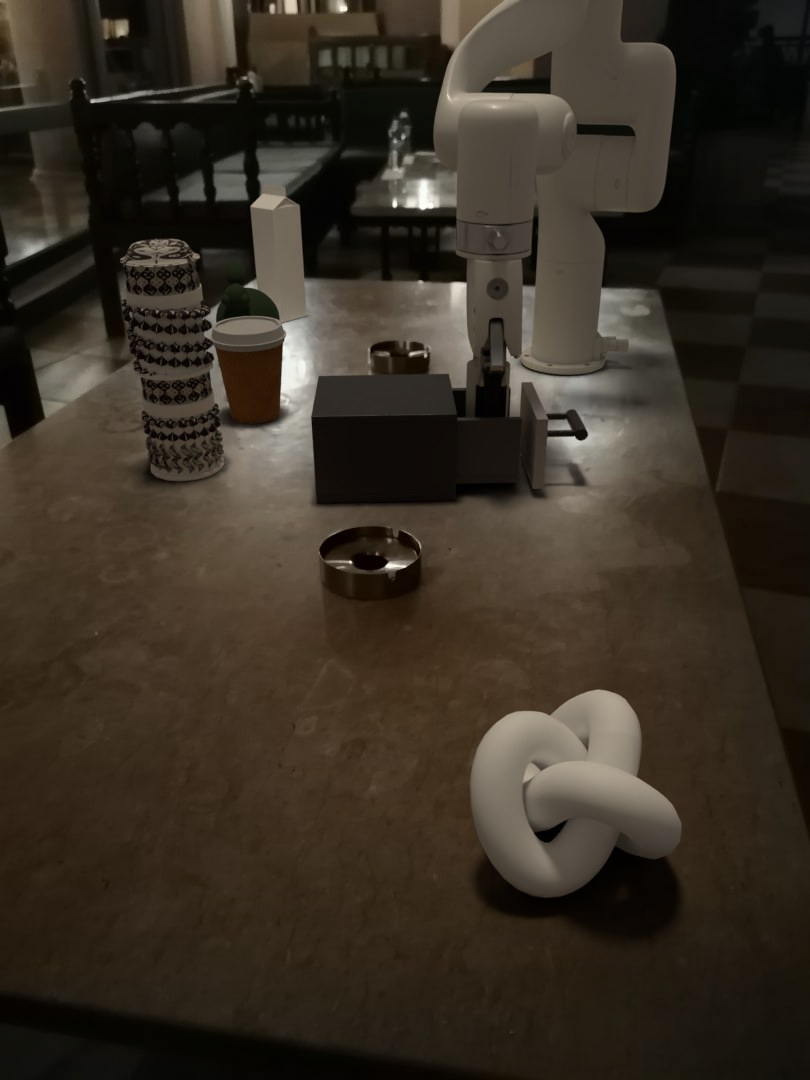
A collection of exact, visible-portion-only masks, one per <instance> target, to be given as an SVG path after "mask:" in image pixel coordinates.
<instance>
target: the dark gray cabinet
mask: <svg viewBox="0 0 810 1080" xmlns="http://www.w3.org/2000/svg"><path fill="white" fill-rule="evenodd" d="M450 377H451V376H450V374H449V373H415V374H414V373H413V374H412V373H410V374H407V373H406V374H358V375H357V374H355V375H354V374H353V375H352V374H351V375H347V374H346V375H318V378H317V382H316V383H317V384H316V389H315V393H314V400H313V404H312V405H313V406H312V411H311V415H310V419H311V420H310V421H311V437H312V452H313V453H312V454H313V468H314V485H315V499H316V500H315V501H316V504H340V503H342V504H345V503H347V504H349V503H389V502H390V503H392V502H395V503H396V502H446V501H448V502H449V501H450V502H451V501H453V502H454V501H456V498H457V484H456V455H457V411H456V406H455V401H454V396H453V391H452V388H453V386H452V382H451V378H450Z"/></svg>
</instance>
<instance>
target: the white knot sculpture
mask: <svg viewBox="0 0 810 1080" xmlns="http://www.w3.org/2000/svg"><path fill="white" fill-rule="evenodd" d="M642 744H643V739H642V729H641V723H640V720H639V717H638V715H637V714H636V711H635V710H634V709H633V708H632V706H631V705H630V704H629V702H628V701H627V699H626V698H624V697H623V696H621V695H620V694H618V693H616V692H612V691H609V690H605V689H599V688H598V689H593V690H589V691H585V692H583V693H580V694H578V695H576V696H574V697H572V698H570V699H568V700H567V701H565V702H564V703H562V704H561V705H560V706H558V708H557V709H555V710H554V711H553V712H552V713H551V714H547V713H546V712H542V711H536V710H519V711H518V710H517V711H514V712H511V713H508V714H506V715H505V716H503V717H501V719H499V720H498V721H496V723H494V724H493V725H492V726H490V728H489V730H488V731H487V732H485V734H484V735H483V737H482V739H481V740H480V742H479V745H478V747H477V748H476V751H475V755H474V758H473V760H472V764H471V770H470V778H469V804H470V810H471V816H472V821H473V826H474V828H475V831H476V834H477V837H478V840H479V843H480V845H481V847H482V848H483V851H484V852H485V854H486V856H487V858H488V860H489V862H490V863H491V865H492V866H493V867H494V868H495V869H496V871H497V872H498V873H499V875H500V876H501V877H502V878H503V879H504V880H505V881H506V882H507V883H509V884H510V885H511V886H513V887H514V888H515V889H516V890H518V891H520V892H523V893H525V894H527V895H529V896H531V897H537V898H544V899H551V898H559V897H563V896H566V895H569V894H572V893H575V892H576V891H577V890H579V889H581V888H583V887H584V886H585V885H587V884H588V883H589V882H591V881H592V879H594V878H595V876H596V875H597V874H599V872H600V871H601V869H602V868H604V865H605V864H606V863H607V861H608V859H609V858H610V856H611V854H612V852H613V850H614V848H615V847H616V848H617V849H620V850H621V851H624V852H625V853H627V854H630V855H633V856H637V857H641V858H644V859H650V860H657V859H661V858H663V857H667V856H669V855H671V854H672V853H673V852H674V850H675V849H676V848H677V847H678V846H679V844H680V843H681V838H682V837H681V836H682V827H683V826H682V822H681V819H680V817H679V815H678V813H677V811H676V808H675V807H674V805H673V804H672V802H671V801H670V800H669V799H668V798H667V797H666V796H665V795H663V794H662V793H661V792H660V791H658V790H657V789H656V788H654V787H652V786H651V785H650V784H648V783H647V782H645V781H643V780H642V779H640V778H639V777H638V773H639V769H640V763H641V758H642ZM565 821H566V822H565ZM564 822H565V823H564ZM562 823H564V825H563V826H562V828H561V830H560V831H559V832H558V833H557V835H556V836H555V837H554V838H553V839H552V840H551V841H549V842H545V841H542V840H541V839H540V838H538V837H537V835H536V834H535V833H540V832H546V831H549V830H551V829H553V828H555V827H556V826H558V825H560V824H562Z"/></svg>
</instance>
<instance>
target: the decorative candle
mask: <svg viewBox="0 0 810 1080" xmlns="http://www.w3.org/2000/svg"><path fill="white" fill-rule="evenodd" d="M200 258H201V256H200V254H199V253H196V252H194V251H193V250H192V249H191V247H190V246H189V245H188V243H187V242H186V241H183V240H180V239H177V238H150V239H144V240H139V241H136V242H133V243H132V244H131V245H130V246H129V248H128V250H127V252H126V254H125V256H123V257H121V258H120V259H119V263H120V264H122V267H123V273H124V274H123V275H124V281H125V286H126V288H125V296H126V298H124V299H121V300H120V302H121V303H120V305H121V307H123V310H122V320H123V321H125V322H127V323H128V325H129V326H128V328H127V329H126V331H125V332H126V334H127V336H126V337H127V339H128V340H129V343H128V347H129V349H128V351H129V353H130V354H132V355H134V357H135V359H134V360H133V362H132V365H133V371H134V372H135V375H137V376H138V377H140V384H141V390H142V395H141V400H142V407H143V410H142V411H141V421H143V422H145V423H144V424H143V428H144V429H143V433H144V434H146V435H147V437H146V438H145V448H146V449H147V461H148V462H149V463H150V473H151V474H152V475H153V476H154V477H155V478H158V479H162V480H165V481H172V482H187V481H196V480H200V479H204V478H208V477H211V476H212V475H215V474H216V473H218V472H220V471H221V470H222V468H224V466H225V460H224V456H223V454H224V453H225V450H224V445H223V444H222V442H223V440H224V438H223V433H222V432H221V430H218V428H220V426H221V422H220V420H221V418H220V417H219V416H217V415H218V414H220V409H219V404H218V403H216V402H215V401H216V400H215V391H214V388H213V387H212V379H211V370H212V369H214V363H213V362H214V360H215V356H214V354H213V353H212V352H210V351H208V350H209V349H210V348H212V347H214V345H213V342H212V341H211V340H210V338H208V336H206V335H205V333H206V332H208V331H209V330H211V329H213V324H212V322H211V321H209V320H208V319H206V317H208V316H209V315H210V314H211V312H212V310H211V308H210V307H208V306H207V305H205V304H204V303H202V301H204V295H203V287H202V283H200V276H199V266H198V259H200ZM130 313H131V314H130Z"/></svg>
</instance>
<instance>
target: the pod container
mask: <svg viewBox="0 0 810 1080" xmlns="http://www.w3.org/2000/svg"><path fill="white" fill-rule="evenodd" d="M489 363H490V362H485V369H486V366H489ZM465 378H466V379H465V380H466V381H465V382H466V383H465V388H466V415H465V416H466V417H475V393H476V385H479V360H478V358H476V359H473V358H472V359H470V360H468V361H467V363H466V377H465ZM510 379H511V363H510V362H509V361H508V360H506V385H507V396H506V417H508V404H509V387H510V384H511V383H510Z"/></svg>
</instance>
